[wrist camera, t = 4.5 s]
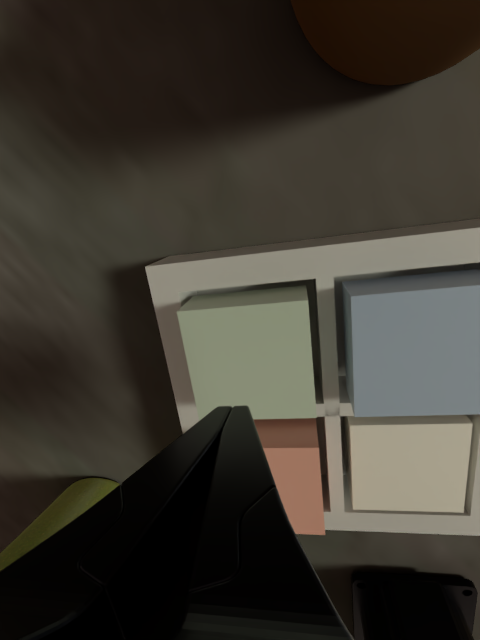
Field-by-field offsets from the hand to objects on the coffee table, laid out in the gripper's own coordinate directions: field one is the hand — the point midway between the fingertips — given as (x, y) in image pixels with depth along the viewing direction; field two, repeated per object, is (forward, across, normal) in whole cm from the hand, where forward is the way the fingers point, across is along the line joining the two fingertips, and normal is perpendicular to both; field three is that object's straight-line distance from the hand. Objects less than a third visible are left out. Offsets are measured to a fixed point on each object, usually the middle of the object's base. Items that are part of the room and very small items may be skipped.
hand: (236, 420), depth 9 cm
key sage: (+5, 0, 0) cm, 5 cm away
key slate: (+5, -6, 0) cm, 8 cm away
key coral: (+5, 0, +6) cm, 8 cm away
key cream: (+6, -6, +6) cm, 10 cm away
